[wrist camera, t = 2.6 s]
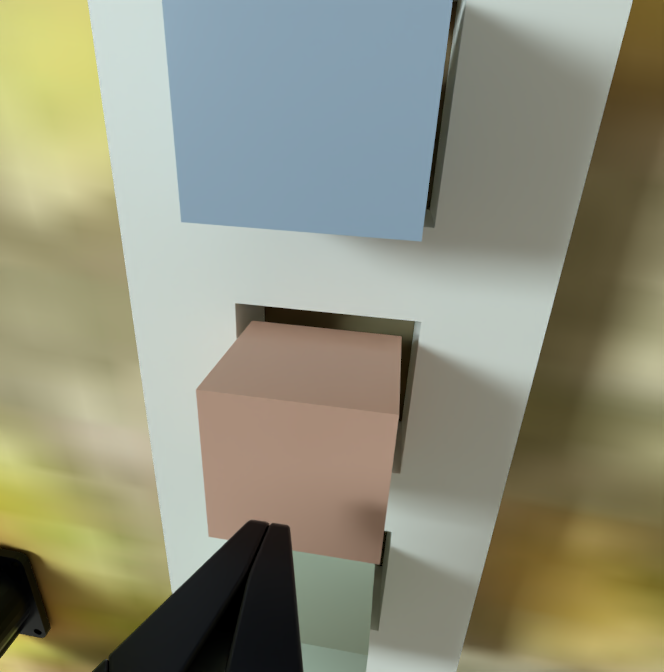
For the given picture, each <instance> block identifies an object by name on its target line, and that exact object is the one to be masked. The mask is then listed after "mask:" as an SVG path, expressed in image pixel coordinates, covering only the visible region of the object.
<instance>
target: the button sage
mask: <svg viewBox="0 0 664 672" xmlns="http://www.w3.org/2000/svg"><path fill="white" fill-rule="evenodd" d="M292 552H293V563H294V574H295V585H296V595H297V606H298V617H299V628H300V639H301V649H302V660H303V671H304V672H366V667H367V659H368V649H369V636H370V623H371V610H372V597H373V584H374V571H375V564H373V563H366V562H360V561H354V560H348V559H342V558H336V557H330V556H323V555H317V554H311V553H305V552H299V551H293V550H292Z"/></svg>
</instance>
